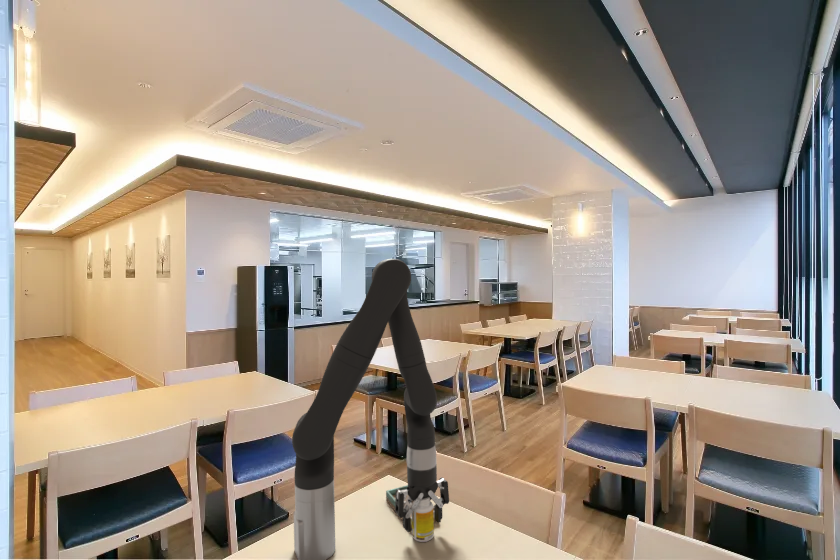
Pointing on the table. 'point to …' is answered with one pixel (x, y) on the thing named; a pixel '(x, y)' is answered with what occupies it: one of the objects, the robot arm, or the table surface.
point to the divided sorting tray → (391, 499)
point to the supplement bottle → (423, 521)
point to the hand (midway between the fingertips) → (423, 525)
